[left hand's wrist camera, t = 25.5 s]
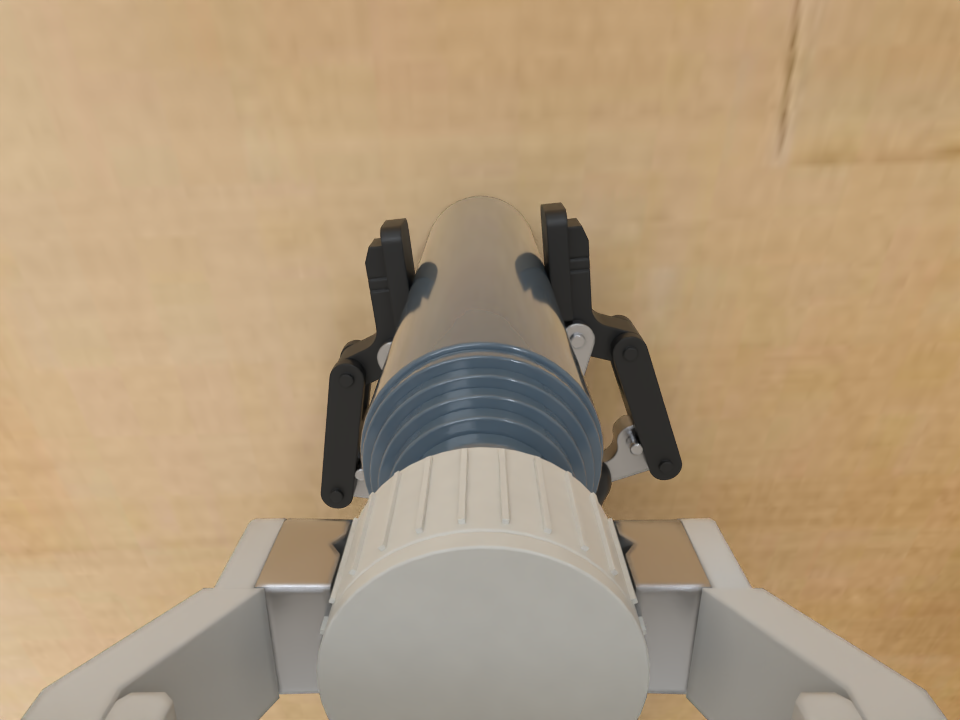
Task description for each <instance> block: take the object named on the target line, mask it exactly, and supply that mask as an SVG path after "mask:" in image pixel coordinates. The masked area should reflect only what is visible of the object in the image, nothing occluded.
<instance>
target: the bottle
mask: <svg viewBox="0 0 960 720" xmlns="http://www.w3.org/2000/svg"><path fill="white" fill-rule="evenodd" d="M475 447H489V448H503V449H509V450H515V451H519V452H523V453H527V454H530V455H534V456H538V457H540V458H541V459H544V460H546V461H548V462H551V463H552V464H554V465H556V466H558V467H559V468H561V469H563V470H565V471H566V472H567V471H569V472H570V473H572V476H573V477H574V478H576V479H577V480H578V481H580V482H581V483H582V484H583V485H584V486H585V487H586V488H587V489H588V490H589V491H590V492H591V493H593V492H594V493H595V494H596V491H597V489H598V485H599V481H600V477H601V469H602V463H603V453H604V446H603V434H602V429H601V424H600V421H599V418H598V415H597V412H596V410H595V407H594V404H593V401H592V398H591V396H590V393H589V390H588V387H587V384H586V382H585V379H584V376H583V373H582V371H581V368H580V365H579V362H578V359H577V357H576V354H575V351H574V348H573V346H572V343H571V340H570V337H569V334H568V332H567V329H566V326H565V323H564V320H563V318H562V315H561V312H560V309H559V307H558V304H557V301H556V298H555V295H554V293H553V290H552V287H551V284H550V282H549V279H548V276H547V273H546V270H545V268H544V265H543V262H542V259H541V256H540V254H539V251H538V248H537V245H536V243H535V240H534V237H533V234H532V231H531V229H530V227H529V225H528V223H527V221H526V220H525V218H524V217H523V216H522V214H521V213H520V212H519V211H518V210H516V209H515V208H514V207H513V206H511V205H510V204H508V203H507V202H504V201H502V200H500V199H496V198H493V197H487V196H476V197H469V198H465V199H462V200H460V201H457V202H456V203H454V204H452V205H451V206H449V207H448V208H447V209H445V210H444V211H443V212H442V213H441V214H440V216H439V217H438V218H437V219H436V221H435V223H434V224H433V226H432V229H431V231H430V234H429V237H428V239H427V242H426V245H425V248H424V251H423V254H422V257H421V260H420V262H419V265H418V268H417V271H416V274H415V277H414V280H413V283H412V285H411V288H410V291H409V294H408V297H407V300H406V303H405V306H404V308H403V311H402V314H401V317H400V320H399V323H398V326H397V329H396V331H395V334H394V337H393V340H392V343H391V346H390V349H389V352H388V354H387V357H386V360H385V363H384V366H383V369H382V372H381V375H380V378H379V380H378V383H377V386H376V389H375V392H374V395H373V398H372V401H371V403H370V406H369V409H368V412H367V415H366V418H365V422H364V425H363V429H362V435H361V445H360V448H361V462H362V467H363V475H364V480H365V485H366V487H367V490H368V493H369V495H370V494H371V493H372V492H374V493H375V492H376V491H377V490H378V489H379V488H380V487H381V486H382V485H383V484H384V483H385V482H386V481H388V480H389V479H390V478H391V477H392V476H394V473H396V472H397V471H399V472H400V471H401V470H403V469H405V468H406V467H408V466H409V465H411V464H413V463H416V462H418V461H420V460H422V459H424V458H426V457H428V456H433V455H436V454H439V453H442V452H446V451H451V450H457V449H462V448H475Z"/></svg>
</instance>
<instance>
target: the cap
mask: <svg viewBox="0 0 960 720" xmlns="http://www.w3.org/2000/svg"><path fill="white" fill-rule="evenodd" d="M329 603H332V607H331V610H330V613H329V617H328V616H324V619H323V622H322V625H321V629H320V634H322V635H323V638H322V641H321V645H320V648H319V652H318V661H317V684H318V689H319V693H320V698H321V702H322V705H323V707H324V709H325V712H326V714H327V717H328V719H329V720H637V719H638V717H639V716H640V714H641V711H642V708H643V706H644V703H645V700H646V697H647V692H648V686H649V681H650V661H649V655H648V649H647V645H646V641H645V638H644V635H646V634H647V633H646V628H645V624H644V621H643V618H642V616H640V617H638V615H637V611H636V608H635V605H634V604H636V603H638V601H637V597H636V594H635V591H634V588H633V584H632V581H631V578H630V575H629V571H628V568H627V565H626V562H625V558H624V555H623V552H622V549H621V545H620V542H619V539H618V535H617V532H616V529H615V526H614V522H613V520H612V518H609V519H608V518H607V516H606V514H605V512H604V510H603V509H602V507H601V505H600V504H599V503H598V499H597V496H596V494H595V493H594V492H593V493H591V492H590V491H589V490H588V489H587V488H586V487H585V486H584V485H583V484H582V483H581V482H580V481H578V480H577V479H576V478H574V477H573V476H572V473H570V472H569V471H567V472H566V471H565V470H563V469H561V468H559V467H558V466H556V465H554V464H552V463H551V462H548V461H546V460H544V459H541V458H540V457H538V456H534V455H530V454H527V453H523V452H519V451H515V450H509V449H503V448H489V447H475V448H462V449H457V450H451V451H446V452H442V453H439V454H436V455H433V456H428V457H426V458H424V459H422V460H420V461H418V462H416V463H413V464H411V465H409V466H408V467H406V468H405V469H403V470H401V471H400V472H399V471H397V472H396V473H394V476H392V477H391V478H390V479H389V480H388V481H386V482H385V483H384V484H383V485H382V486H381V487H380V488H379V489H378V490H377V491H376V492H375V493H374V492H372V493H371V494H370V495H369V499H368V502H367V504H366V505H365V507H364V508H363V509H362V511H361V513H360V515H359V517H358V519H357V518H354V519H353V521H352V525H351V528H350V532H349V535H348V538H347V542H346V545H345V548H344V552H343V555H342V559H341V562H340V565H339V569H338V572H337V576H336V579H335V582H334V586H333V589H332V593H331V596H330V599H329Z"/></svg>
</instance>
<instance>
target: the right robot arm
mask: <svg viewBox="0 0 960 720" xmlns="http://www.w3.org/2000/svg"><path fill="white" fill-rule="evenodd" d="M541 224H542V238H543V252H544V267H545V270H546V273H547V276H548V279H549V282H550V284H551V287H552V290H553V293H554V295H555V298H556V301H557V304H558V307H559V309H560V312H561V315H562V318H563V320H564V323H565V326H566V329H567V332H568V334H569V337H570V340H571V343H572V346H573V348H574V351H575V354H576V357H577V359H578V362H579V365H580V368H581V371H582V373H583V376H584V375H585V372H586V369H587V365H588V362H589V359H590V356H593V357H597V358H601V359H605V360H609V361H610V362H611V365H612V368H613V371H614V374H615V377H616V380H617V383H618V386H619V389H620V392H621V395H622V398H623V401H624V405H625V408H626V411H627V414H628V415H624V416H621V417H620V418H619V419H618V420H617V421H616V422H615V424H614V426H613V441H612V443H611V445H610V446H609V447H608V448H606V449H605V450H604V453H603V463H602V469H601V477H600V481H599V485H598V489H597V491H596V496H597V499H598V503H599V504H600V505H601V506H602V504H603V502H604V500H605V498H606V497H607V495H608V493H609V491H610V488H611V482H613V481H616V480H619V479H622V478H625V477H629V476H632V475H635V474H638V473H641V472H645V471H648V470H650V473H651V474H652V475H653V476H654V477H655V478H657V479H660V480H668V479H671V478H674V477H675V476H676V475H678V473H679V472H680V470H681V468H682V461H681V458H680V454H679V451H678V448H677V444H676V441H675V438H674V435H673V431H672V428H671V425H670V421H669V418H668V415H667V411H666V408H665V405H664V402H663V398H662V395H661V392H660V388H659V385H658V382H657V378H656V375H655V372H654V368H653V365H652V362H651V359H650V355H649V352H648V349H647V346H646V344H645V342H644V341H643V339H642V338H641V336H640V335H639V333H638V331H637V330H636V328H635V327H634V325H633V324H632V322H631V321H630V320H629V319H628V318H627V317H625V316H622V315H615V316H607V315H603V314H600V313H597V312H595V311H594V310H592V307H591V285H590V262H589V240H588V238H587V236H586V234H585V232H584V230H583V227H582V225H581V224H580V223H579V221H578V220H577V219H576V218H573V219H567V214H566V209H565V208H564V206H563V205H562V203H552V204H542V205H541ZM380 237H381V238H377V239H374V240H373V242H372V243H371V245H370V246H369V248H368V252H367V257H366V261H365V265H366V270H367V276H368V282H369V288H370V294H371V300H372V306H373V311H374V317H375V323H376V330H377V332H376V333H375V334H374V335H372V336H370V337H368V338H366V339H364V340H362V341H361V340H353V341H350V342H349V343H347V344H346V345H345V347H344V348H343V350H342V352H341V355H340V359H339V361H338V363H336V364H335V366H334V367H333V369H332V371H331V374H330V379H329V392H328V405H327V419H326V432H325V445H324V459H323V472H322V485H321V497H322V500H323V501H324V502H325V503H326V504H327V505H328V506H330V507H333V508H344V507H346V506H348V505H349V504H350V503H351V501H352V499H353V496H354V497H362V498H369V493H368V490H367V487H366V485H365V480H364V475H363V467H362V462H361V448H360V445H361V435H362V429H363V425H364V422H365V418H366V415H367V412H368V409H369V400H370V390H371V382H374V381H376V380H378V379H379V378H380V375H381V372H382V369H383V366H384V363H385V360H386V357H387V354H388V352H389V349H390V346H391V343H392V340H393V337H394V334H395V331H396V329H397V326H398V323H399V320H400V317H401V314H402V311H403V308H404V306H405V303H406V300H407V297H408V294H409V291H410V288H411V285H412V283H413V280H414V277H415V270H414V263H413V256H412V250H411V243H410V236H409V229H408V223H407V220H406V218H404V219H394V220H386V221H385V222H384V224H383V225H382V227H381V229H380Z"/></svg>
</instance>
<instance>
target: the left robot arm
mask: <svg viewBox="0 0 960 720" xmlns="http://www.w3.org/2000/svg"><path fill="white" fill-rule="evenodd" d="M352 521H353V520H341V519H294V518H289V519H285V518H255V519H254V520H252V521H250V522H249V523H248V525H247V527H246V529H245V531H244V533H243V535H242V536H241V538H240V540H239V542H238V544H237V546H236V548H235V549H234V551H233V553H232V555H231V557H230V559H229V561H228V562H227V564H226V566H225V568H224V570H223V572H222V574H221V575H220V577H219V579H218V581H217V583H216V585H215V587H214V588H203V589H202V590H200V591H198V592H197V593H195V594H194V595H192V596H190V597H189V598H187V599H186V600H184V601H182V602H181V603H179V604H178V605H176V606H175V607H173V608H171V609H170V610H168V611H167V612H165V613H163V614H162V615H160V616H159V617H157V618H155V619H154V620H152V621H151V622H149V623H147V624H146V625H144V626H143V627H141V628H140V629H138V630H136V631H135V632H133V633H132V634H130V635H128V636H127V637H125V638H124V639H122V640H120V641H119V642H117V643H116V644H114V645H112V646H111V647H109V648H108V649H106V650H105V651H103V652H101V653H100V654H98V655H97V656H95V657H93V658H92V659H90V660H89V661H87V662H85V663H84V664H82V665H81V666H79V667H77V668H76V669H74V670H73V671H71V672H70V673H68V674H66V675H65V676H63V677H62V678H60V679H58V680H57V681H55V682H54V683H52V684H50V685H49V686H47V687H46V688H44V689H43V690H42V691H41V692H40V694H39V695H38V697H37V698H36V699H35V701H34V702H33V703H32V705H31V706H30V707H29V709H28V710H27V712H26V713H25V714H24V716H23V717H22V718H21V720H259V719H260V718H261V717H262V716H263V715H264V714H265V712H266V711H267V710H268V709H269V708H270V707H271V706H272V705H273V704H274V703H275V702H276V701H277V700H278V699H279V694H304V693H319V689H318V684H317V661H318V652H319V648H320V645H321V641H322V638H323V635H322V634H320V629H321V625H322V622H323V619H324V616H328V617H329V613H330V610H331V607H332V603H329V599H330V596H331V593H332V589H333V586H334V582H335V579H336V576H337V572H338V569H339V565H340V562H341V559H342V555H343V552H344V548H345V545H346V542H347V538H348V535H349V532H350V528H351V525H352ZM613 522H614V526H615V529H616V532H617V535H618V539H619V542H620V545H621V549H622V552H623V555H624V558H625V562H626V565H627V568H628V571H629V575H630V578H631V581H632V584H633V588H634V591H635V594H636V597H637V601H638V603H636V604H634V605H635V608H636V611H637V615H638V617H640V616H642V618H643V621H644V624H645V628H646V633H647V634H646V635H644V638H645V641H646V645H647V649H648V655H649V661H650V681H649V686H648V692H647V693H661V694H686V698H687V699H688V700H689V701H690V702H691V703H692V704H693V705H694V706H695V707H696V708H697V709H698V710H699V711H700V712H701V713H702V714H703V715H704V717H705V718H706V719H707V720H947V718H946V717H945V716H944V714H943V713H942V712H941V710H940V709H939V708H938V706H937V705H936V703H935V702H934V701H933V699H932V698H931V697H930V695H929V694H928V693H927V691H926V690H924V689H923V688H921V687H920V686H918V685H916V684H915V683H913V682H912V681H910V680H908V679H907V678H905V677H904V676H902V675H900V674H899V673H897V672H896V671H894V670H892V669H891V668H889V667H888V666H886V665H884V664H883V663H881V662H880V661H878V660H876V659H875V658H873V657H872V656H870V655H868V654H867V653H865V652H864V651H862V650H860V649H859V648H857V647H856V646H854V645H852V644H851V643H849V642H848V641H846V640H844V639H843V638H841V637H840V636H838V635H836V634H835V633H833V632H832V631H830V630H828V629H827V628H825V627H824V626H822V625H820V624H819V623H817V622H816V621H814V620H812V619H811V618H809V617H808V616H806V615H804V614H803V613H801V612H800V611H798V610H796V609H795V608H793V607H792V606H790V605H788V604H787V603H785V602H784V601H782V600H780V599H779V598H777V597H776V596H774V595H772V594H771V593H769V592H768V591H766V590H764V589H763V588H752V587H751V585H750V583H749V581H748V580H747V578H746V576H745V574H744V572H743V571H742V569H741V567H740V565H739V563H738V562H737V560H736V558H735V556H734V554H733V553H732V551H731V549H730V547H729V545H728V544H727V542H726V540H725V538H724V536H723V535H722V533H721V531H720V529H719V527H718V526H717V524H716V522H715V521H714V520H712V519H711V518H689V519H677V520H617V521H613Z"/></svg>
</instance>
